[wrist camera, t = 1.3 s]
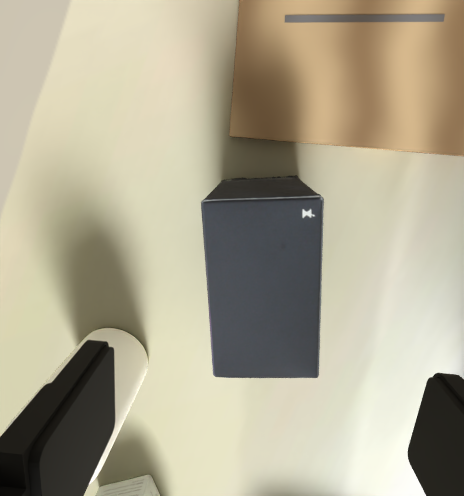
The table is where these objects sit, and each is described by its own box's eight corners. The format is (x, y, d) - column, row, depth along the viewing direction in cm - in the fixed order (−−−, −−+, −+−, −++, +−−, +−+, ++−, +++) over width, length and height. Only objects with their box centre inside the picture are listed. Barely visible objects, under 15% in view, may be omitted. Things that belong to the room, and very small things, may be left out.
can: (116, 311, 31) (34, 410, 19) (164, 363, 32) (115, 485, 20) (65, 350, 32) (-39, 464, 20) (113, 399, 33) (40, 532, 22)
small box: (215, 178, 27) (194, 195, 17) (300, 174, 27) (329, 190, 17) (222, 303, 30) (208, 382, 20) (299, 302, 30) (324, 381, 19)
